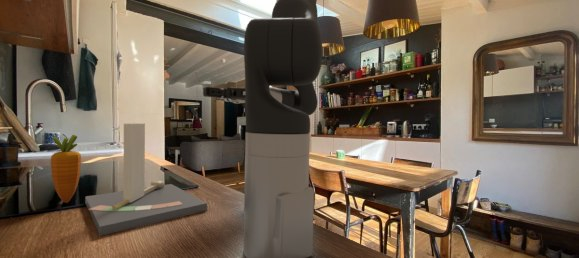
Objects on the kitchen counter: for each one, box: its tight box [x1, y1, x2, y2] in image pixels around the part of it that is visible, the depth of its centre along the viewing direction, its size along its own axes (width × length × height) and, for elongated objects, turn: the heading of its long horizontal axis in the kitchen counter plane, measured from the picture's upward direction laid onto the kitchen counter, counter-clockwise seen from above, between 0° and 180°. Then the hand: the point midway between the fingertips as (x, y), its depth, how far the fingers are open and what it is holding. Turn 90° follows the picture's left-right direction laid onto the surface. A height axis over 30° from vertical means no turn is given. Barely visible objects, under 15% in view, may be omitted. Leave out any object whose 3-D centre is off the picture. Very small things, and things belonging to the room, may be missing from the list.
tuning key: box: [112, 123, 165, 209], centre depth 56 cm, size 18×3×16 cm, turn 2°
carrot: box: [50, 134, 82, 204], centre depth 55 cm, size 5×5×15 cm
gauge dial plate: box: [85, 183, 208, 237], centre depth 54 cm, size 21×18×2 cm
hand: (204, 91), depth 60 cm, fingers closed
